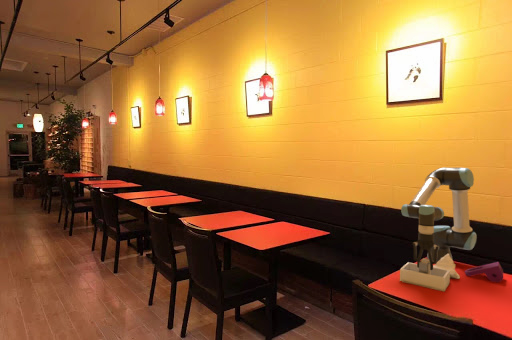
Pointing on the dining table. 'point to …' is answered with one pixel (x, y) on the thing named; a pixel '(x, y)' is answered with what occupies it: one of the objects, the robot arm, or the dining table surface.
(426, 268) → the brushed metal block
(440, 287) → the cream rectangular tray
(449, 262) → the cream faceted chunk
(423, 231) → the robot arm
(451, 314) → the dining table surface
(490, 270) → the mounting bracket
